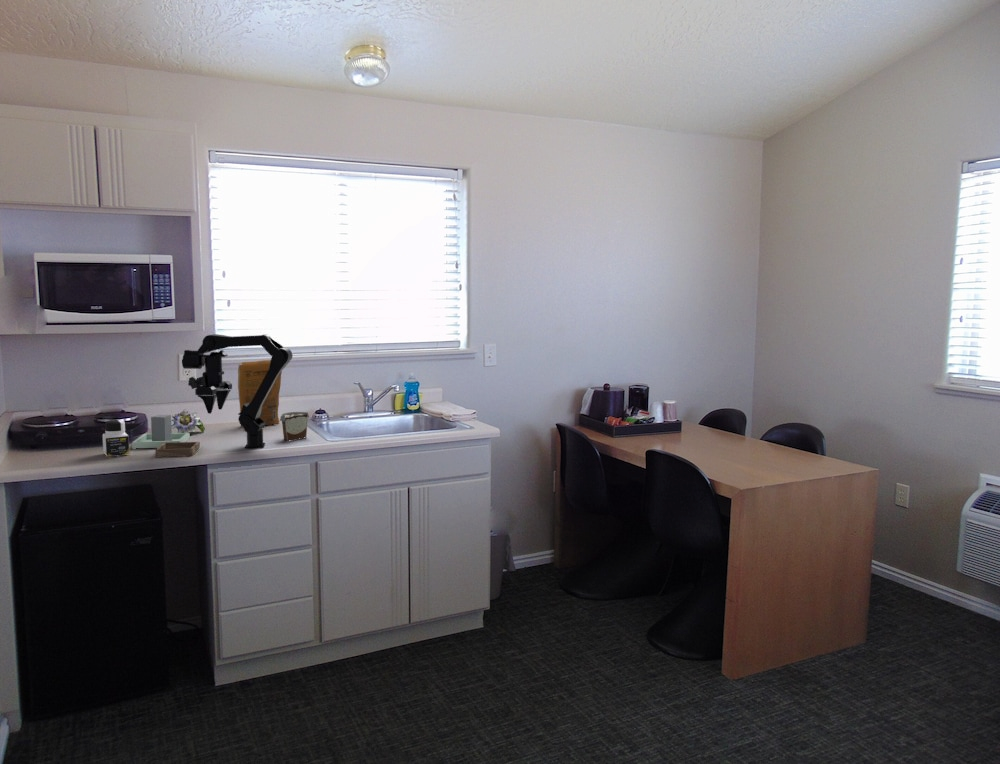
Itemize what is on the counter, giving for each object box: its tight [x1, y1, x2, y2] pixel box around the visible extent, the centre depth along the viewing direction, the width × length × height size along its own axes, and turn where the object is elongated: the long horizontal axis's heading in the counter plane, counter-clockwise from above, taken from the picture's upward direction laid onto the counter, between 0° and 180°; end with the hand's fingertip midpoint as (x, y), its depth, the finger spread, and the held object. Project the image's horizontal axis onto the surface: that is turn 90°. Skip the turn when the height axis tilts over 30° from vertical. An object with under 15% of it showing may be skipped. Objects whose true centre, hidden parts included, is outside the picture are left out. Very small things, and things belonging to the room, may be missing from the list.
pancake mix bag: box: [237, 359, 283, 427], centre depth 310 cm, size 7×19×28 cm, turn 124°
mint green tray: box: [131, 432, 191, 450], centre depth 271 cm, size 16×16×3 cm
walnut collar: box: [154, 441, 201, 457], centre depth 258 cm, size 12×12×2 cm
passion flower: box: [171, 408, 206, 433], centre depth 292 cm, size 11×11×12 cm
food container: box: [279, 411, 310, 442], centre depth 285 cm, size 12×6×10 cm, turn 146°
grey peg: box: [150, 414, 173, 441], centre depth 271 cm, size 5×5×10 cm
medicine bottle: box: [102, 419, 130, 457], centre depth 253 cm, size 7×7×12 cm
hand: (214, 411), depth 268 cm, fingers open, 9 cm apart
